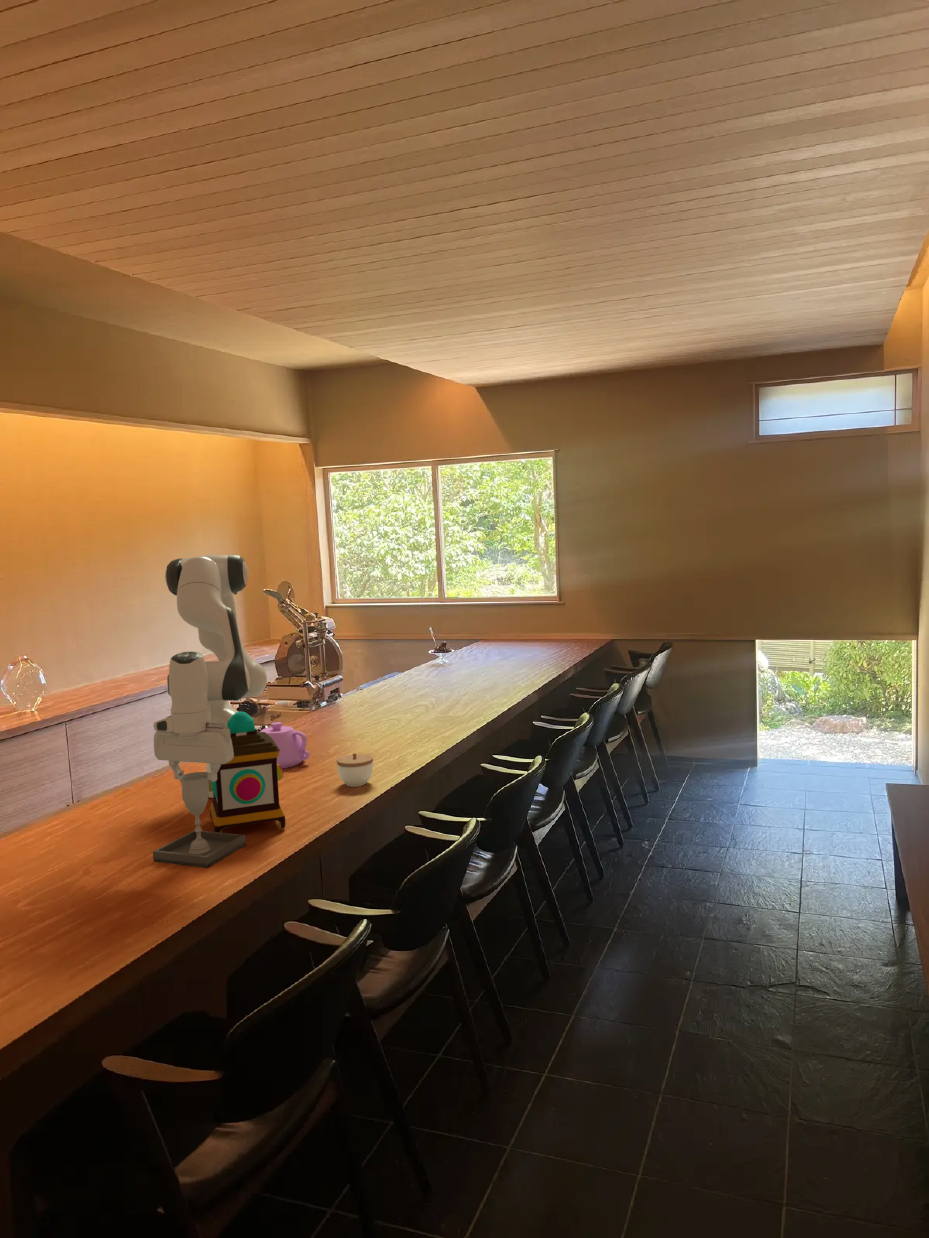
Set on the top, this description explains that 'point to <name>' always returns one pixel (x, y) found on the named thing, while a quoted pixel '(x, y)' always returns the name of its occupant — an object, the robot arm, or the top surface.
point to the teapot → (288, 744)
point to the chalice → (196, 804)
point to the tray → (219, 850)
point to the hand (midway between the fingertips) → (195, 779)
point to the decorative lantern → (247, 779)
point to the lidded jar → (355, 769)
